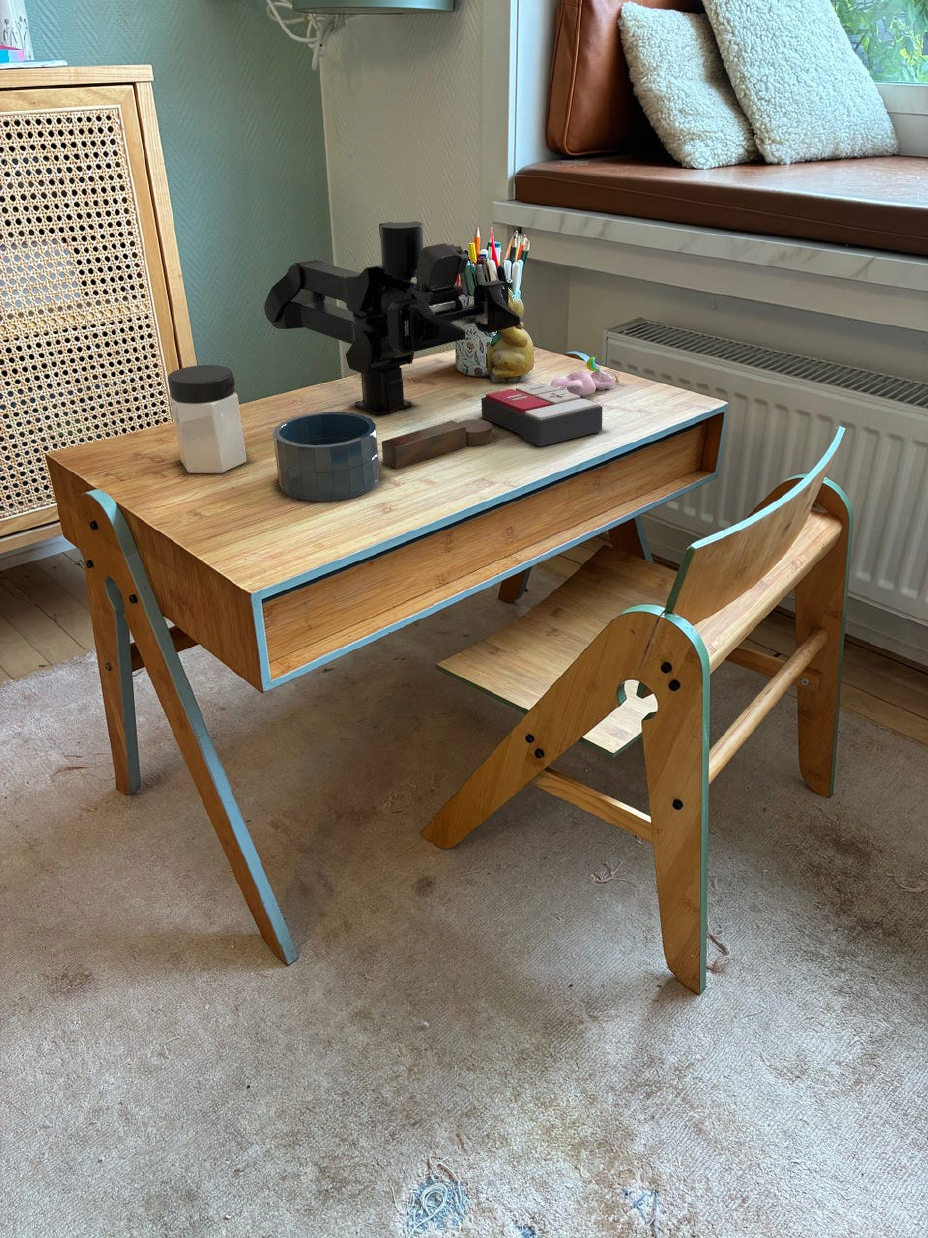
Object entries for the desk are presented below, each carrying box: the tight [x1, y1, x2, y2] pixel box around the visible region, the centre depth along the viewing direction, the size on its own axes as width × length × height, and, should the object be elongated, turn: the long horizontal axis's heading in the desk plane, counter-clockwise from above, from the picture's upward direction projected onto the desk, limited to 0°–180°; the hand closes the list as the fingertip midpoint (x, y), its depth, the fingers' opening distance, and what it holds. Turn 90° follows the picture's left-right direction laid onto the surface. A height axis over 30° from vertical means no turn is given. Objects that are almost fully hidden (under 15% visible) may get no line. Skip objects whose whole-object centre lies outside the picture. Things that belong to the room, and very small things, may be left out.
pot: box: [272, 411, 380, 503], centre depth 123 cm, size 13×13×7 cm
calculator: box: [480, 382, 604, 447], centre depth 140 cm, size 11×4×15 cm
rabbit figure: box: [549, 356, 620, 398], centre depth 151 cm, size 6×6×15 cm
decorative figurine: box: [485, 288, 535, 383], centre depth 157 cm, size 10×8×15 cm
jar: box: [167, 364, 247, 474], centre depth 128 cm, size 9×8×12 cm
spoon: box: [381, 419, 493, 470], centre depth 133 cm, size 17×5×3 cm, turn 130°
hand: (492, 327), depth 124 cm, fingers open, 9 cm apart
